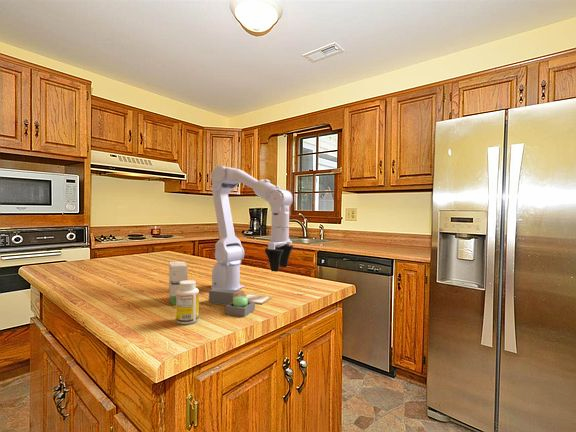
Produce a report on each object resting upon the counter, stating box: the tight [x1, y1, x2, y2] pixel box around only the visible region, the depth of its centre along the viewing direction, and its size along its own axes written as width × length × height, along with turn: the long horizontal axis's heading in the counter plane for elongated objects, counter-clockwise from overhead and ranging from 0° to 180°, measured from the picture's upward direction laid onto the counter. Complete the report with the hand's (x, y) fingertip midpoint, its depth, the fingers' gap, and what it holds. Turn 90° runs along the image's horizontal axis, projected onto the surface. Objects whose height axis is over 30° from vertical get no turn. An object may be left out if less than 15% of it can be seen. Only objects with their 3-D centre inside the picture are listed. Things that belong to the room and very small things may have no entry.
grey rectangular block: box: [208, 288, 245, 306], centre depth 95 cm, size 10×4×4 cm, turn 69°
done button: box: [233, 295, 248, 308], centre depth 87 cm, size 4×4×3 cm
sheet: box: [245, 293, 272, 305], centre depth 99 cm, size 9×7×1 cm
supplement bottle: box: [175, 279, 200, 325], centre depth 79 cm, size 6×6×10 cm
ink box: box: [168, 261, 189, 306], centre depth 96 cm, size 9×5×12 cm, turn 26°
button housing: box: [224, 302, 256, 318], centre depth 87 cm, size 6×6×2 cm
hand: (279, 269), depth 100 cm, fingers open, 7 cm apart
